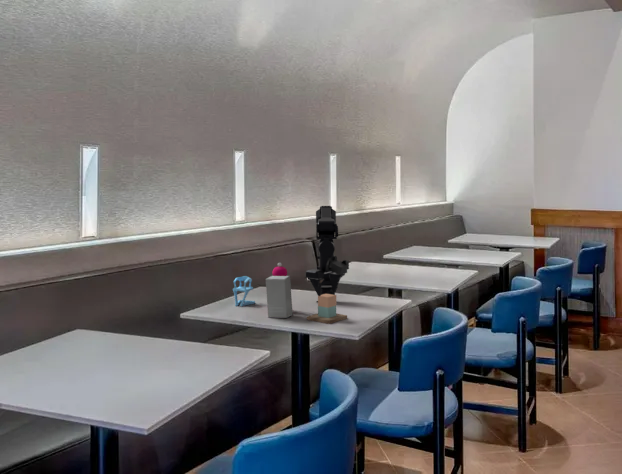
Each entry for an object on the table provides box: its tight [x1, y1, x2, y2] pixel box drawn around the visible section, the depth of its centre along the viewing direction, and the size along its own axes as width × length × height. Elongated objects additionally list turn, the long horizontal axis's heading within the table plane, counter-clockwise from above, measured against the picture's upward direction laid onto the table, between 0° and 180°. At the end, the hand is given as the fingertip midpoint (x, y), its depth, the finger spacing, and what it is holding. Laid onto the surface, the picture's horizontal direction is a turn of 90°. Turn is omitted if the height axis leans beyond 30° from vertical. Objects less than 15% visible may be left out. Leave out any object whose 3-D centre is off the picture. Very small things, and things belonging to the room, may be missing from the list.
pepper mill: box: [271, 262, 288, 276], centre depth 244 cm, size 7×7×20 cm
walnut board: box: [306, 312, 348, 325], centre depth 231 cm, size 11×11×1 cm
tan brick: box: [317, 294, 337, 308], centre depth 230 cm, size 5×5×4 cm
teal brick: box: [317, 305, 337, 318], centre depth 230 cm, size 5×5×4 cm
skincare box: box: [265, 275, 293, 319], centre depth 235 cm, size 8×7×16 cm
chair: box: [232, 275, 256, 307], centre depth 259 cm, size 8×8×12 cm
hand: (326, 294), depth 230 cm, fingers open, 9 cm apart
